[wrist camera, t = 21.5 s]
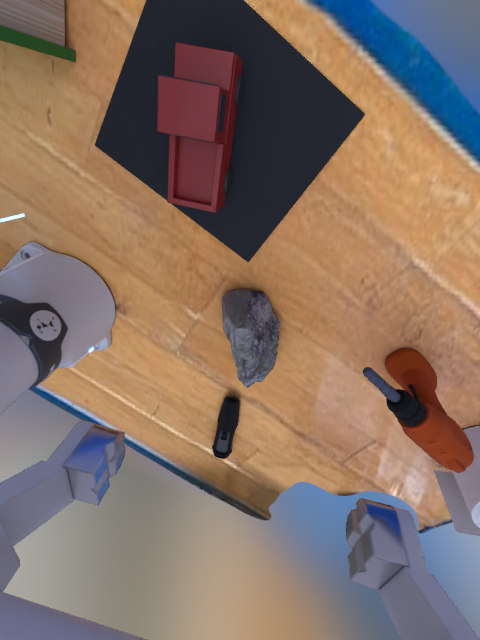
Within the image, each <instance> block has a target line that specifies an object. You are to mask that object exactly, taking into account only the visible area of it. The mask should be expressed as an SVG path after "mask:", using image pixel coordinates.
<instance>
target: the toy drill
mask: <svg viewBox="0 0 480 640" xmlns="http://www.w3.org/2000/svg"><path fill="white" fill-rule="evenodd" d="M385 367H386V369H387V371H388V373H389V374H390V375H391V377H392V378H393V379H394V380H395V381H396V382H397V383H398V384H399V385H400V386H401V387H402V388H403V389H404V390H400V389H396V390H395V389H394V388H393V387H392V386H390V385H389V384H388V383H387V382H386V381H384V380H383V379H382V378H381V377H380V376H379V375H378V374H377V373H376V372H375V371H373V369H371V368H369V367H366V368H365V369H364V370H363V374H364V376H365V377H368V380H370V381H371V382H372V383H373V384H374V385H375V386H376V387H377V388H378V389H379V390H380V391H381V392H382V393H383V394H384V395H385V396H386V397H387V406H388V408H389V409H390V410H391V411H392V412H393V413H394V414H395V416H396V417H397V419H398V422H399V423H400V424H401V426H402V428H403V431H404V432H405V434H406V435H407V436H408V437H409V438H410V439H411V440H413V441H414V442H415V443H416V444H417V445H418V446H419V447H420V448H422V449H423V450H424V451H425V452H426V453H427V454H428V455H429V456H431V457H432V458H433V459H434V460H436V461H437V462H438V463H440V464H441V465H443V466H445V467H446V468H448V469H450V470H453V471H455V472H456V473H461V472H464V471H465V470H466V468H467V467H468V466H470V465H471V464H472V463H473V460H474V453H473V449H472V446H471V444H470V441H469V439H468V438H467V436H466V434H465V433H464V431H463V430H462V429H461V428H460V427H459V425H458V424H457V423H456V422H455V421H454V420H453V419H452V418H450V417H449V416H447V414H446V412H445V411H444V409H443V407H442V406H441V404H440V402H439V400H438V398H437V396H436V393H435V389H436V387H437V377H436V374H435V372H434V370H433V368H432V367H431V366H430V364H429V363H428V361H427V360H426V359H425V358H424V357H423V356H422V355H421V354H420V353H419V352H417V351H416V350H413V349H410V348H404V349H400V350H397V351H395V352H393V353H391V354H390V355H389V356H388V357H387V359H386V362H385Z"/></svg>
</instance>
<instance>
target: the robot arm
mask: <svg viewBox="0 0 480 640" xmlns="http://www.w3.org/2000/svg"><path fill="white" fill-rule="evenodd" d="M23 216H24V214H20V215H16V216H11V217H7V218H3V219H0V222H3V221H7V220H11V219H16V218H20V217H23ZM29 255H30V256H29ZM114 320H115V304H114V300H113V297H112V295H111V293H110V291H109V289H108V287H107V285H106V284H105V283H104V281H103V280H102V279H101V277H100V276H99V275H98V274H97V273H96V272H95V271H94V270H93V269H91V268H90V267H89V266H88V265H86V264H85V263H83V262H81V261H80V260H78V259H76V258H73V257H71V256H68V255H65V254H60V253H56V252H52V251H50V250H48V249H47V248H45V247H44V246H42V245H40V244H38V243H36V242H32V241H31V242H29V243H27V244H25V245H24V246H23V247H22V248H21V249H20V250H19V251H18V253H17V254H16V255H15V256H14V257H13V258H12V259H11V260H10V261H9V263H8V264H7V265H6V266H5V267H4V268H3V269H2V270H1V271H0V415H1V414H2V413H3V412H4V411H5V410H6V409H7V408H8V407H9V406H11V405H12V404H13V403H14V402H15V401H16V400H17V399H18V398H19V397H20V396H21V395H22V394H23V393H24V392H25V391H27V390H28V389H32V388H34V387H36V386H37V385H38V384H39V383H41V382H43V381H44V380H45V379H47V378H48V377H49V376H50V375H51V374H52V372H53V371H54V370H55V369H56V368H66V367H68V368H71V367H73V366H74V365H76V364H77V363H78V362H79V361H80V360H81V359H83V358H84V357H85V356H86V355H87V354H88V353H89V352H92V351H96V350H104V349H107V348H108V347H109V346H110V345H111V333H110V331H111V328H112V325H113V323H114ZM124 439H125V436H124V432H122V431H118V430H115V429H111V428H107V427H104V426H100V425H97V424H94V423H91V422H87V421H83V420H81V421H80V422H79V423H77V424H76V425H75V426H74V428H73V429H72V430H71V431H70V433H69V434H68V435H67V436H66V438H65V439H64V440H63V441H62V443H61V444H60V445H59V446H58V448H57V449H56V450H55V451H54V453H53V454H52V455H51V456H50V457H49V459H48V460H47V461H40V462H39V463H37V464H35V465H33V466H31V467H29V468H27V469H26V470H23V471H22V472H20V473H18V474H16V475H14V476H12V477H10V478H9V479H7V480H5V481H3V482H1V483H0V640H146V639H143V638H140V637H138V636H134V635H131V634H128V633H125V632H122V631H119V630H116V629H113V628H110V627H107V626H104V625H101V624H98V623H95V622H92V621H89V620H86V619H83V618H80V617H76V616H74V615H70V614H67V613H65V612H62V611H58V610H55V609H52V608H49V607H46V606H43V605H40V604H37V603H34V602H31V601H28V600H25V599H22V598H19V597H16V596H13V595H10V594H7V593H4V592H3V591H4V589H5V588H6V586H7V584H8V583H9V582H10V580H11V579H12V577H13V576H14V574H15V572H16V571H17V569H18V568H19V566H20V559H19V558H18V556H17V554H16V552H15V550H14V548H13V546H14V545H16V544H17V543H18V542H20V541H21V540H22V539H24V538H25V537H26V536H28V535H29V534H30V533H32V532H33V531H34V530H36V529H37V528H38V527H40V526H41V525H42V524H44V523H45V522H46V521H48V520H49V519H50V518H52V517H53V516H54V515H56V514H57V513H58V512H60V511H61V510H62V509H63V508H65V507H66V506H68V505H69V504H70V503H72V502H73V501H74V499H75V500H79V501H83V502H86V503H90V504H94V505H99V504H100V502H101V500H102V498H103V497H104V495H105V493H106V491H107V490H108V488H109V478H110V477H112V476H114V475H115V474H117V472H118V470H119V468H120V466H121V464H122V462H123V459H124V456H125V446H124V444H123V443H122V442H123V440H124ZM356 505H357V508H356V509H354V510H351V512H350V513H349V515H348V518H347V523H346V539H347V542H348V543H349V545H350V547H351V548H352V551H351V552H350V554H349V556H348V561H349V571H350V581H352V582H355V583H358V584H361V585H364V586H367V587H370V588H373V589H376V590H379V591H378V594H379V596H380V598H381V600H382V601H383V604H384V606H385V608H386V610H387V611H388V613H389V615H390V618H391V620H392V621H393V624H394V625H395V627H396V629H397V631H398V633H399V635H400V637H401V639H402V640H480V639H479V637H478V636H477V635H476V633H475V632H474V630H473V629H472V628H471V626H470V625H469V624H468V622H467V621H466V619H465V618H464V617H463V615H462V614H461V612H460V611H459V610H458V608H457V607H456V606H455V604H454V603H453V601H452V600H451V599H450V597H449V596H448V594H447V593H446V592H445V591H444V589H443V588H442V586H441V585H440V583H439V582H438V581H437V579H436V578H435V576H434V575H432V574H429V573H428V570H427V567H426V563H425V559H424V556H423V552H422V549H421V545H420V541H419V537H418V534H417V530H416V527H415V523H414V519H413V516H412V514H411V513H410V512H409V511H407V510H404V509H400V508H396V507H392V506H390V505H386V504H382V503H378V502H375V501H371V500H367V499H363V498H362V499H359V500H358V501H357V503H356Z"/></svg>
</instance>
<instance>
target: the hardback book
mask: <svg viewBox="0 0 480 640" xmlns="http://www.w3.org/2000/svg"><path fill="white" fill-rule="evenodd" d="M0 40H2V41H5V42H9V43H12V44H15V45H19V46H22V47H26V48H29V49H32V50H36V51H39V52H42V53H46V54H49V55H53V56H56V57H59V58H63V59H66V60H70V61H73V62H75V51H74V50H72V49H69V48H66V47H65V12H64V0H0Z"/></svg>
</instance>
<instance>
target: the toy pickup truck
mask: <svg viewBox="0 0 480 640" xmlns="http://www.w3.org/2000/svg"><path fill="white" fill-rule="evenodd" d="M242 65H243V61H242V60H241V59H240V58H239V57H238V55H237V54H235V53H234V52H228V51H223V50H217V49H211V48H206V47H200V46H194V45H188V44H183V43H177V42H176V48H175V75H174V77H173V76H167V75H165V76H160V75H159V76H158V132H163V133H164V134H168V135H170V141H169V171H168V201H167V202H168V203H173V204H177V205H182V206H187V207H191V208H196V209H201V210H205V211H210V212H214V213H216V212H217V211H218V210H219V209H220V208H222V207H223V206H224V205H225V197H226V195H228V194H229V192H230V189H231V184H232V176H233V173H232V170H231V169H229V166H230V158H231V150H232V143H233V135H234V127H235V119H236V112H237V108H240V107H241V105H242V101H243V96H244V89H245V77H244V75H243V74H241V73H242Z"/></svg>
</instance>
